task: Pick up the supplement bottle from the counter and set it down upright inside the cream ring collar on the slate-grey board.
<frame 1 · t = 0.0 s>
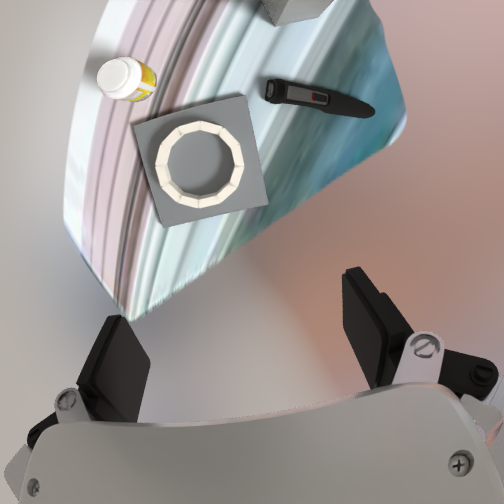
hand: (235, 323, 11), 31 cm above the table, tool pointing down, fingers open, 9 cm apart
collar: (201, 162, 38), on the table
electric trimmer: (316, 98, 35), on the table
perfume bottle: (287, 4, 28), on the table
supplement bottle: (140, 84, 32), on the table
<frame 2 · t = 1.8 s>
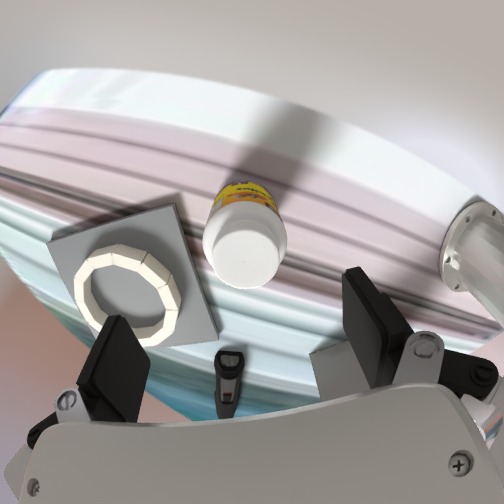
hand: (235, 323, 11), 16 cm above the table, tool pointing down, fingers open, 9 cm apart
collar: (130, 289, 29), on the table
electric trimmer: (228, 383, 37), on the table
perfume bottle: (338, 359, 35), on the table
supplement bottle: (243, 207, 26), on the table
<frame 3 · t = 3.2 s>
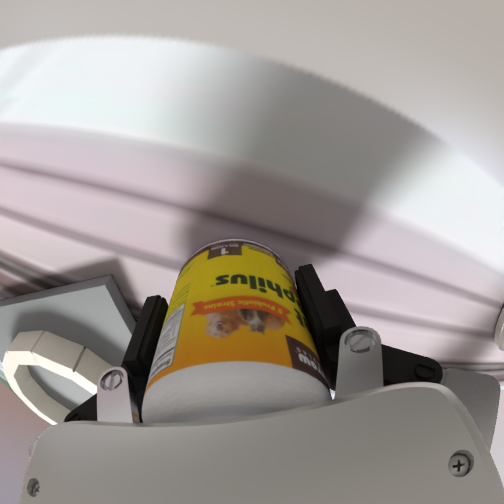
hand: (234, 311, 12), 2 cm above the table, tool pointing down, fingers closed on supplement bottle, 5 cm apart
collar: (78, 379, 17), on the table
supplement bottle: (234, 283, 14), on the table, touching gripper
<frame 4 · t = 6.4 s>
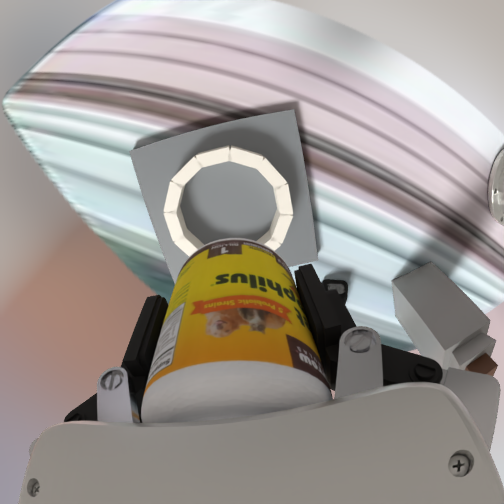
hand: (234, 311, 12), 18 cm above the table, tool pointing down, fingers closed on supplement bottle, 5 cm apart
collar: (228, 203, 28), on the table
electric trimmer: (319, 324, 36), on the table
perfume bottle: (412, 289, 35), on the table
supplement bottle: (234, 282, 14), point 16 cm above the table, touching gripper
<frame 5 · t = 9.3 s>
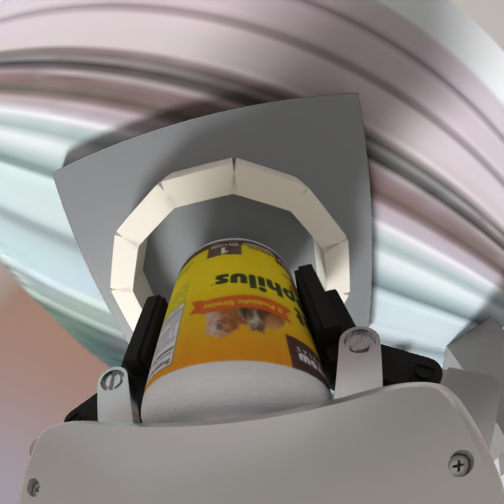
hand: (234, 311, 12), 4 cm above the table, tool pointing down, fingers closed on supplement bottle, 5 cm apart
collar: (230, 263, 16), on the table
perfume bottle: (464, 348, 23), on the table
supplement bottle: (234, 282, 14), point 2 cm above the table, touching gripper
when the fingers open (4 cm above the table, at t = 9.4 s): supplement bottle drops 1 cm, resting on collar.
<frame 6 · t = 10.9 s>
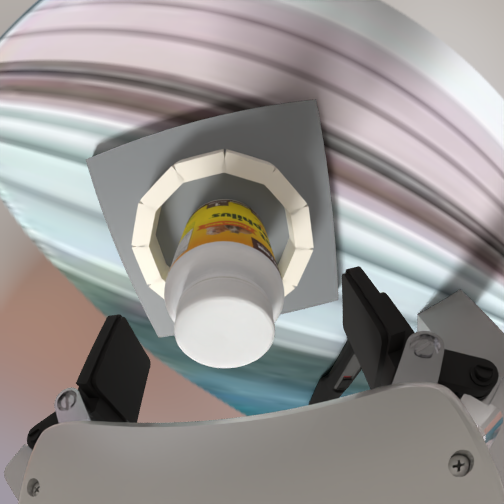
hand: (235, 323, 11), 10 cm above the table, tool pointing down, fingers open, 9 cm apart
collar: (222, 230, 21), on the table
electric trimmer: (337, 367, 29), on the table
perfume bottle: (437, 320, 28), on the table
supplement bottle: (224, 233, 20), point 1 cm above the table, touching collar
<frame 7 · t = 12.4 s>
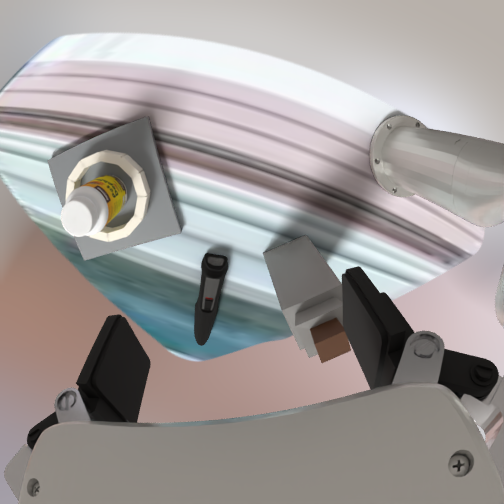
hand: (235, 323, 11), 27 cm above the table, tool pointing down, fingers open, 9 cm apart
collar: (111, 192, 34), on the table
electric trimmer: (209, 295, 43), on the table
perfume bottle: (291, 262, 42), on the table
supplement bottle: (110, 193, 33), point 1 cm above the table, touching collar
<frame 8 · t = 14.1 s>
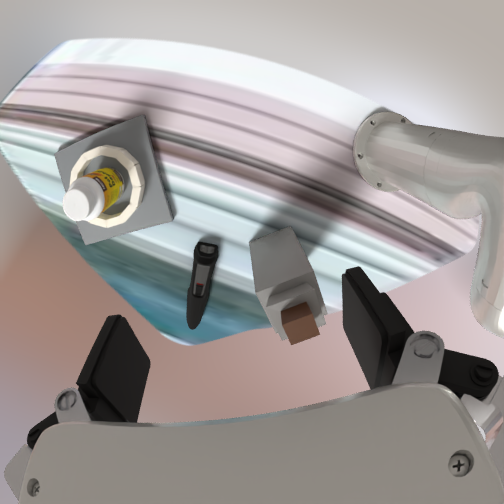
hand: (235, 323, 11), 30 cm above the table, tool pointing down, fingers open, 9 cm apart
collar: (110, 183, 37), on the table
electric trimmer: (201, 282, 46), on the table
perfume bottle: (277, 251, 44), on the table
supplement bottle: (109, 184, 36), point 1 cm above the table, touching collar
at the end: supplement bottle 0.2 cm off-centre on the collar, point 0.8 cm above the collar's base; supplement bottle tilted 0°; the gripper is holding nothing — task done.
